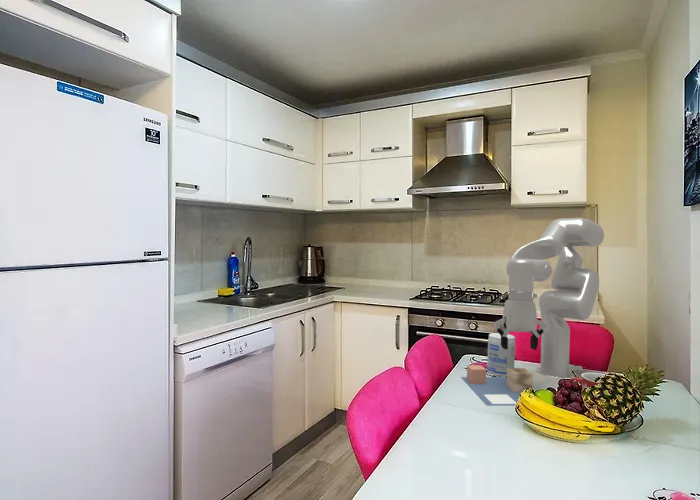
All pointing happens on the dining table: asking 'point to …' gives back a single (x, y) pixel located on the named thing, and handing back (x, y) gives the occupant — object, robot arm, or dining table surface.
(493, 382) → the board
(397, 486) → the dining table surface
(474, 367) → the terracotta block
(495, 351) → the supplement tub
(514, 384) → the beech block
